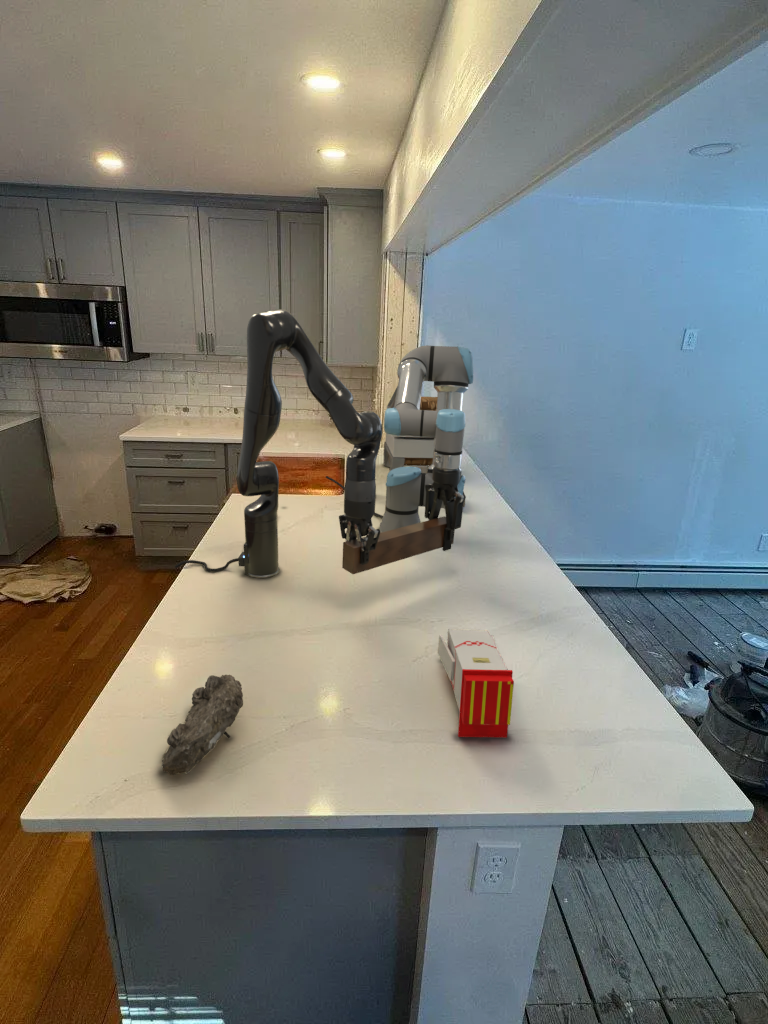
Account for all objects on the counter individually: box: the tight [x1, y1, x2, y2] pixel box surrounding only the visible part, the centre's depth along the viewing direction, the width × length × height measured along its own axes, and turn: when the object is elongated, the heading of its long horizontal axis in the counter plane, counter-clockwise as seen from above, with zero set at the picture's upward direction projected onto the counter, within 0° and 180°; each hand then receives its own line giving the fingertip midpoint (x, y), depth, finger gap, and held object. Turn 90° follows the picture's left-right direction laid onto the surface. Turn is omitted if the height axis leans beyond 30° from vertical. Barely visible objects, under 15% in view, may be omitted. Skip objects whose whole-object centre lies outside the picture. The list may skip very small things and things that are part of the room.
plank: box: [341, 515, 456, 575], centre depth 151 cm, size 36×4×7 cm, turn 130°
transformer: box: [383, 385, 463, 472], centre depth 268 cm, size 34×33×41 cm
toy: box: [437, 628, 515, 738], centre depth 117 cm, size 12×13×30 cm
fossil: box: [161, 674, 244, 776], centre depth 102 cm, size 22×10×15 cm
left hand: (357, 559), depth 142 cm, fingers closed on plank, 4 cm apart
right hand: (440, 546), depth 162 cm, fingers closed on plank, 4 cm apart
